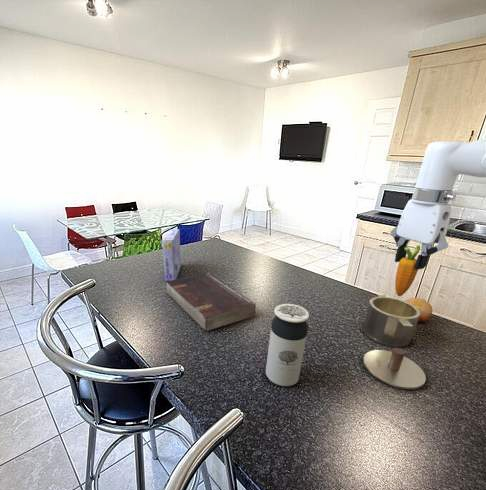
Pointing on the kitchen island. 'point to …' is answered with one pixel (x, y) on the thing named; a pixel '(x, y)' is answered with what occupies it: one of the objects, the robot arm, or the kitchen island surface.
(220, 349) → the kitchen island surface
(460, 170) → the robot arm
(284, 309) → the travel mug
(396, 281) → the carrot
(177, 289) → the hardback book
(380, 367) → the pot lid
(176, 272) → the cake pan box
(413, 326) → the pot
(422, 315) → the fruit
